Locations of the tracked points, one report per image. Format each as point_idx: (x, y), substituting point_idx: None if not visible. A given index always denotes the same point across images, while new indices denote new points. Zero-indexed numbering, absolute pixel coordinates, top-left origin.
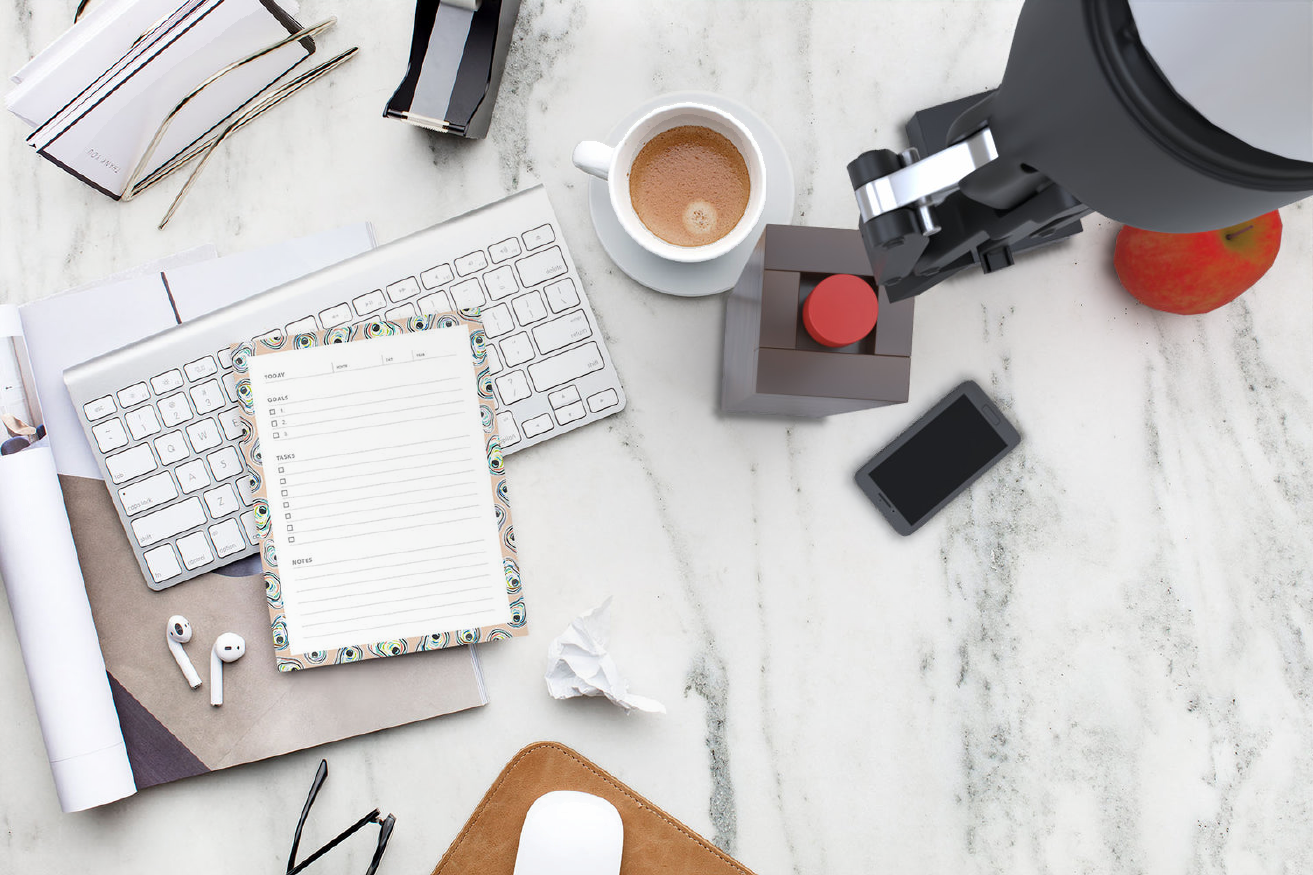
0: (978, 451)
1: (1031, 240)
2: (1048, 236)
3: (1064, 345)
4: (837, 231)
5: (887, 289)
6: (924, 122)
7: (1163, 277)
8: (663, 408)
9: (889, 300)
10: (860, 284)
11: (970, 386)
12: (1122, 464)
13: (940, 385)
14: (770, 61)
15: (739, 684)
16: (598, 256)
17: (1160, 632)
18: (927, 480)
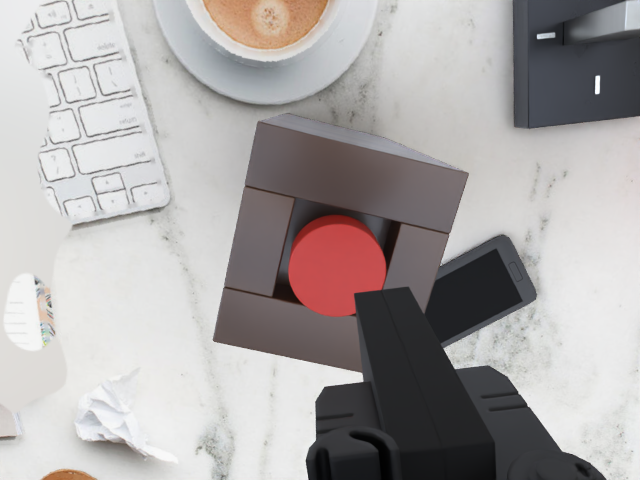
0: (494, 301)
1: (606, 113)
2: (624, 112)
3: (603, 216)
4: (356, 150)
5: (362, 366)
6: None
7: None
8: (206, 211)
9: (363, 379)
10: (367, 243)
11: (504, 242)
12: (619, 330)
13: (476, 234)
14: None
15: (243, 451)
16: (155, 40)
17: (602, 463)
18: (441, 319)
